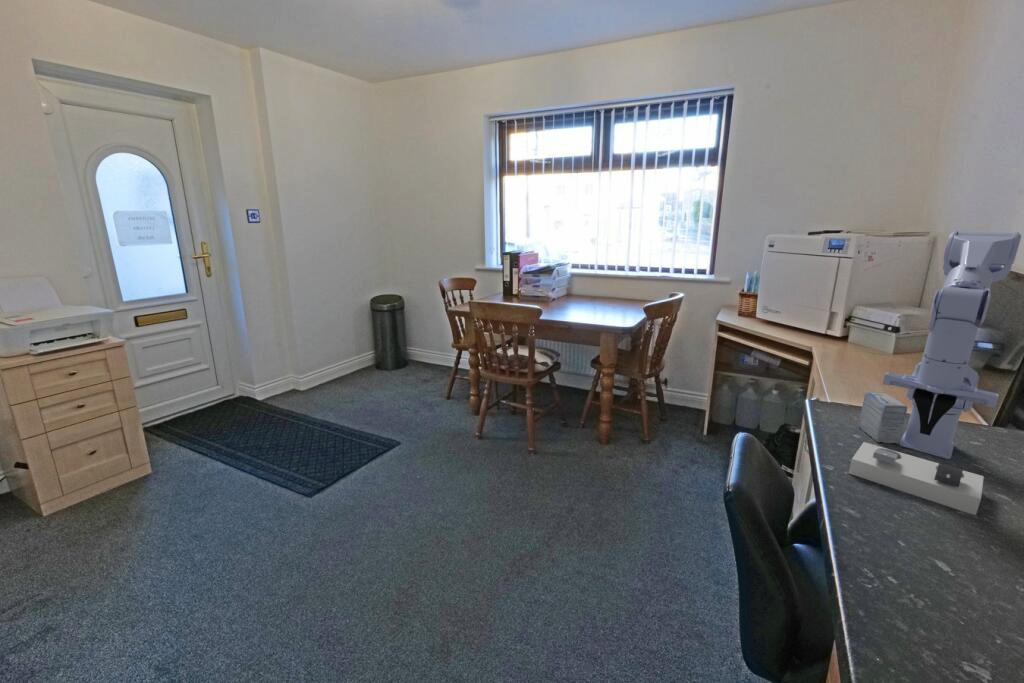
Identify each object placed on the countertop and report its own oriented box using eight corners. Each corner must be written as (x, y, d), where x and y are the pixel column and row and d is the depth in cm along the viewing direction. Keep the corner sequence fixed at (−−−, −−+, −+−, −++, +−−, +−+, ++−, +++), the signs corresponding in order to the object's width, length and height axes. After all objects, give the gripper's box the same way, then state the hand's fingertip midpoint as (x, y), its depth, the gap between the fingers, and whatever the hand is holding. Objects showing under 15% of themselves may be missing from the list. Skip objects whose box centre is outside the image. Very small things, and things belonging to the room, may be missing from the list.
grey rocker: (876, 453, 86) (877, 448, 86) (896, 459, 84) (898, 454, 84) (872, 457, 84) (874, 451, 83) (893, 463, 81) (895, 458, 81)
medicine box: (899, 445, 97) (909, 406, 95) (875, 442, 98) (884, 404, 96) (878, 429, 105) (887, 393, 103) (856, 427, 106) (864, 391, 104)
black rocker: (937, 467, 80) (939, 462, 80) (961, 474, 78) (963, 469, 78) (934, 479, 78) (935, 474, 78) (958, 487, 76) (960, 481, 75)
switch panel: (860, 455, 93) (863, 441, 92) (978, 491, 81) (984, 475, 80) (848, 473, 86) (852, 457, 85) (975, 515, 74) (981, 497, 73)
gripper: (886, 353, 80) (870, 425, 84) (1006, 374, 70) (981, 455, 74) (894, 346, 85) (877, 415, 89) (1007, 365, 75) (983, 441, 79)
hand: (925, 432), depth 82 cm, fingers closed
